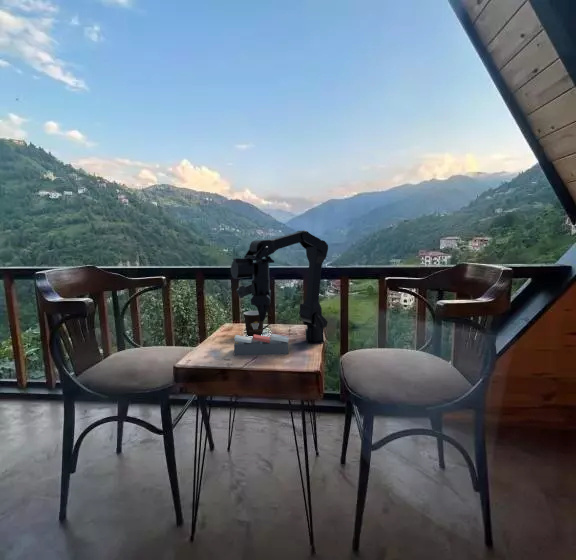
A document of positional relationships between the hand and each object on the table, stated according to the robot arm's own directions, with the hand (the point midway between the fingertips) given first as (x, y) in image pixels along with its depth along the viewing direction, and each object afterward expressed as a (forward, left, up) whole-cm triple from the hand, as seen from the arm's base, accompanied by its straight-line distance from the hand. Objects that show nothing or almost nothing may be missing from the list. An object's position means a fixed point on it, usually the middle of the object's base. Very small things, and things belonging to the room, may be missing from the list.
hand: (262, 320), depth 127 cm
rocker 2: (-6, 0, -7) cm, 9 cm away
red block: (+1, 0, -7) cm, 7 cm away
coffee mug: (+3, -22, -12) cm, 25 cm away
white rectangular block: (+7, 0, -7) cm, 10 cm away
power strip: (+1, -2, -12) cm, 12 cm away
